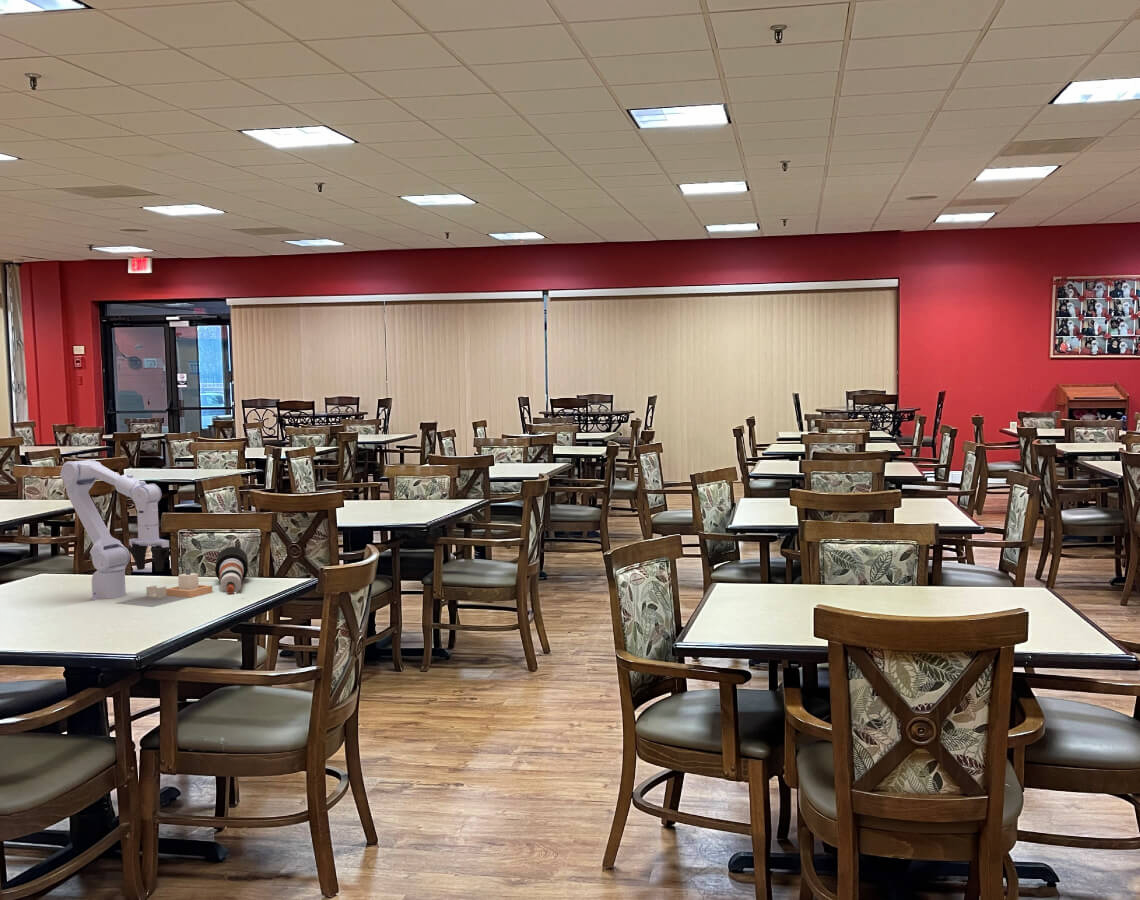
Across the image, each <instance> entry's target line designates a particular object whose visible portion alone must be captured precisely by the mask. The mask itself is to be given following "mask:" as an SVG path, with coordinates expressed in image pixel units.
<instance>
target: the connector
mask: <svg viewBox="0 0 1140 900" xmlns="http://www.w3.org/2000/svg"><path fill="white" fill-rule="evenodd" d="M184 571H185V573H181V574H179V575H177V576H178V577H177V578H178V586H179V589H181V590H193V589H197V588H199V585H200V584H199V573H194V572H192V568H191V567H190V566H189V567H185V569H184Z"/></svg>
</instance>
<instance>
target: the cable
mask: <svg viewBox="0 0 1140 900" xmlns="http://www.w3.org/2000/svg"><path fill="white" fill-rule="evenodd" d="M214 572H215V576H216V578H218V579H217V580H219V584H220V589H221V591H222V593H228V594H230V595H231V594H235V593H234V592H237V593H238V592H239V591H241V587H242V582H243V580H245V578H246V577H247V576H248V575H247V574H248V572H249V558H248V555H247V554H246V552H245V551H244V550H243V549H242V548H240V547H236V546H229V547H225V548H224V549H222V550H220V552H219V553H218V554H217V556H216V561H215V567H214Z"/></svg>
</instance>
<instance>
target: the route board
mask: <svg viewBox="0 0 1140 900" xmlns="http://www.w3.org/2000/svg"><path fill="white" fill-rule="evenodd" d="M208 594H209V593H207V594H206V595H208ZM204 595H205V594H203V595H202V596H204ZM199 596H201V595H199ZM199 596H198V597H199ZM196 597H197V596H195V597H194V598H196ZM191 598H193V597H191ZM191 598H190V599H191ZM187 599H189V598H187V597H177V596H166V597H162V598H151V597H147V595H146V596H145V595H144V596H140V597H136V598H132V599H127V600H123V601H119V602H116V604H120V605H130V606H137V607H147V608H154V607H159V606H162V605H166V604H170V603H174V602H180V601H182V600H187Z"/></svg>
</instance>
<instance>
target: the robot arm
mask: <svg viewBox="0 0 1140 900" xmlns="http://www.w3.org/2000/svg"><path fill="white" fill-rule="evenodd" d="M59 476H60V478H61V481H62V482H63V484H64V486H65V492H66V495H67V498H68V500H69V501H70V503H71V505H72V507H73V509H74V510H75V513H76V514H77V517H78V518H79V520H80V523H82V526H83V528H84V530H85V531H86V534H87V535H88V537H89V539H90V541H91V543H92V547H91V549H90V550H89V554H90V556H91V560H92V561H91V562H92V565H93V567H94V569H96V571H94V573H93V574H92V577H91V595H92V597H91V598H89V600H90V601H98V600H102V599H107V600H108V599H117V598H118V599H119V598H123V597H126V596H127V592H126V569H127V565H128V564H129V562H130V560H131V556H132V558H133V560H134V564H135V567H136V569H137V571H140V570H145V569H146V557H147V550H148V547H152V548H150V551H151V554H152V557H153V563H154V570H155V572H162V571H163V570H164V566H165V562H166V558H167V556H168V553H169V552H170V550H171V546H170V540H168V539H163V538H160V533H159V532H160V531H159V530H160V529H159V506H158V505H159V502H160V500H161V498H162V490H161V488H160V487H159V486H158V485H157V484H156V483H149V484H148V483H146V481H145V480H139V479H138V478H135V477H134V475H133V474H132V473H128V474H126V473H125V474H122V475H120V474H119V473H116V471H113V470H111V469H110V468H108V467H106V466H104V465H103V464H102V463H101V462H100V461H96V460H94V459H92V458H90V459H86V460H75V461H72V460H69V461H68V460H67V461H66V462H64V463H63V465H62V467H61V470H60V474H59ZM97 480H99V481H102V482H105V483H108V484H110V485H112V486H114V488H115V490H116V491H117V492H118V493H120V494H122V495H124V496H125V497H128V498H130V499H131V500H132V501H133V503H134V505H135V509H136V511H137V515H136V516H137V537H136V538H135V537H133V538H129V539H128V542H129V543H128V545H129V547H128V548H127V547H125V545H123V543H122V541H121V540H120V539H117V538H115V537H113V536H112V535H111V533H110V531H109V529H108V527H107V525H106V524H105V522H104V520H103V518H102V516H101V514H100V512H99V510H98V509H97V507H96V505H95V503H94V502H93V499H92V498H91V496H90V493H89V491H90V490H91V489H92V488H93V485H94V484H95V483H96V481H97Z"/></svg>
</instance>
